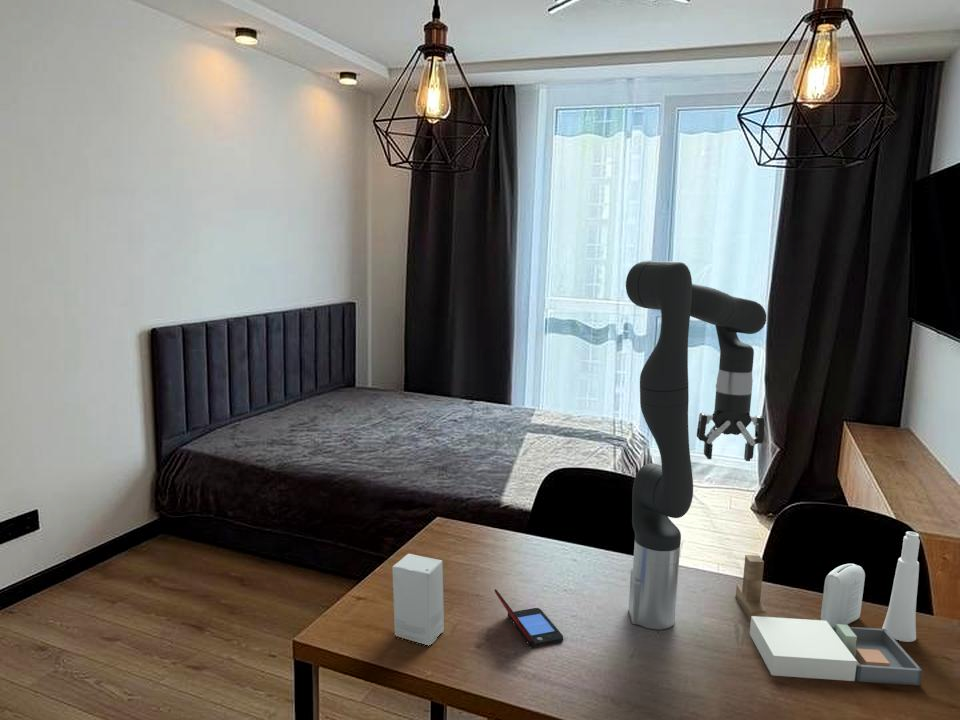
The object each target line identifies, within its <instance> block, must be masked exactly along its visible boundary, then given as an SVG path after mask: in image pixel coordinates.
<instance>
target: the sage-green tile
mask: <svg viewBox="0 0 960 720" xmlns="http://www.w3.org/2000/svg"><path fill="white" fill-rule="evenodd" d="M850 627H851V626H849V624H847V625H844V624H837V626H836V634H837V635H838V636H839V638H840V639H841V640H842V642H843V643H844V644H845V645H846V647H847V648H848V649H849V651H850V652H851V653H852V655H853V656H855V648H856V640H857V636H856V635H855V634H854V632H853V631H852V630H851V629H850Z"/></svg>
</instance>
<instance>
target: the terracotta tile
mask: <svg viewBox="0 0 960 720" xmlns="http://www.w3.org/2000/svg"><path fill="white" fill-rule="evenodd" d="M855 659H856V660H857V661H858V663H859V664H860V665H874V666H888V667H890V663H889V661H888V660H887V659H886V658H885V657H884V655H883V654H882V653H881V652H880V651H879V650H871V649H856V653H855Z"/></svg>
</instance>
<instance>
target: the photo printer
mask: <svg viewBox="0 0 960 720" xmlns="http://www.w3.org/2000/svg"><path fill="white" fill-rule="evenodd" d="M865 578H866V573H865V570H864V569H863V567H862V566H860V565H858V564H855V563H846V564H845V563H844V564H842V565H839V566H837V567H835V568H834V569H833V570H831V571H830V572H829V573H828V574H827V575H826V577H825V579H824V585H823V595H822V602H821V612H820V620H823V621H827V622H828V624H829V625H830V626H837V624H844V625H849V624H851V623H853V622H855V621H857V620H858V619H859V618H860V616H861V611H862V603H863V594H864V587H865V580H866V579H865Z"/></svg>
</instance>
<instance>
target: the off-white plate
mask: <svg viewBox="0 0 960 720" xmlns="http://www.w3.org/2000/svg"><path fill="white" fill-rule="evenodd" d="M749 625H750V626H749V635H750V638H751V639H752V641H753V643H754V645H755V646H756V649H757V650H758V653H759V654H760V656H761V658H762V660H763V662H764V663H765V664H764V665H766V668H767V669H768V671H769V673H770V675H771V676H775V677H791V678H792V677H793V678H801V679H802V678H804V679H818V680H819V679H820V680H831V681H833V680H835V681H848V682H855V681H856V680H855V673H856V665H857V661H856V659H855V658H854V657H853V655H852V654H851V653H850V651H849V650H848V649H847V647H846V646H845V645H844V643H843V642H842V641H841V639H840V638H839V637H838V635H837V634H836V633H835V632H834V630H833V629H832V628H831V626H830V625H829V624H828V622H827V621H823V620H821V619H820V620H819V619H804V618H788V617H773V616H766V617H759V616H751V623H750V624H749Z"/></svg>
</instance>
